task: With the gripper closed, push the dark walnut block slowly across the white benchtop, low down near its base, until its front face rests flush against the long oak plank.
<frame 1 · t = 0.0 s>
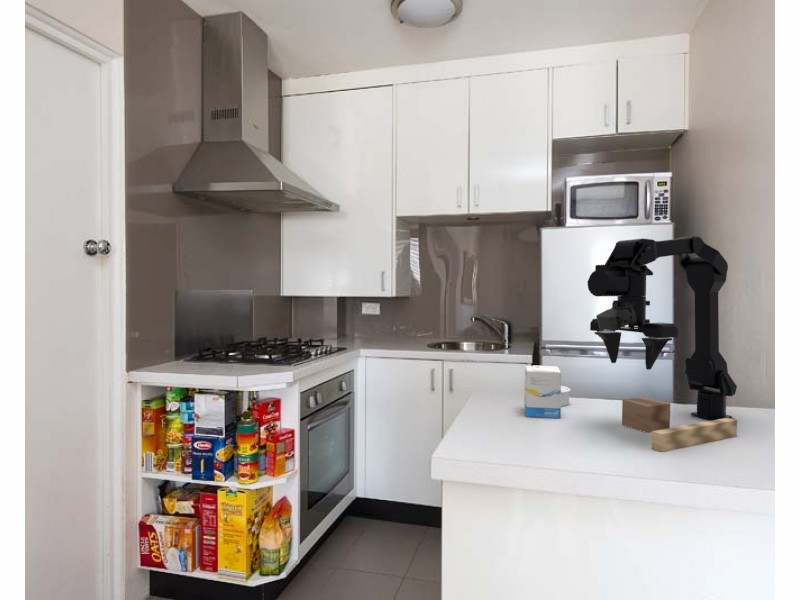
hand: (630, 366, 108), 15 cm above the countertop, fingers open, 9 cm apart
walnut block: (645, 427, 112), on the countertop
oak plank: (695, 442, 101), on the countertop
ink box: (541, 414, 123), on the countertop
ramekin: (553, 404, 134), on the countertop
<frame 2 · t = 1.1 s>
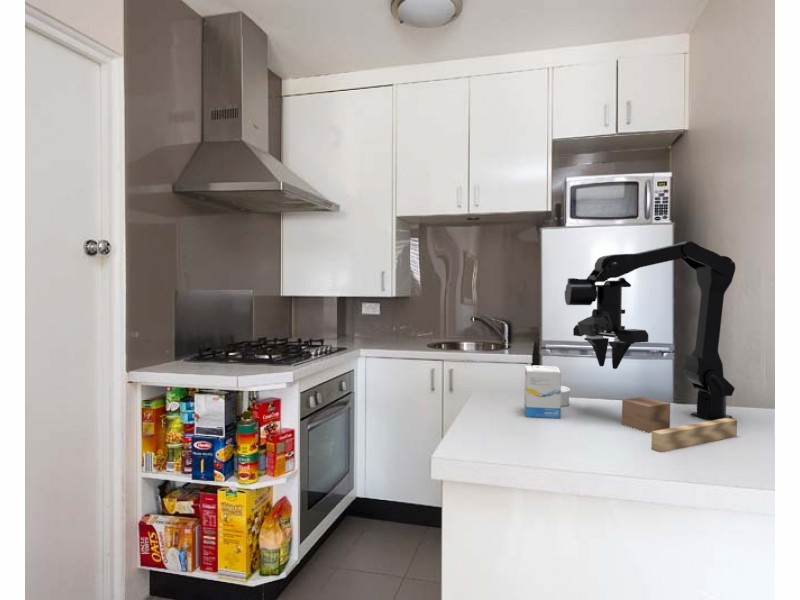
hand: (608, 367, 121), 12 cm above the countertop, fingers open, 4 cm apart
nothing on the countertop moved.
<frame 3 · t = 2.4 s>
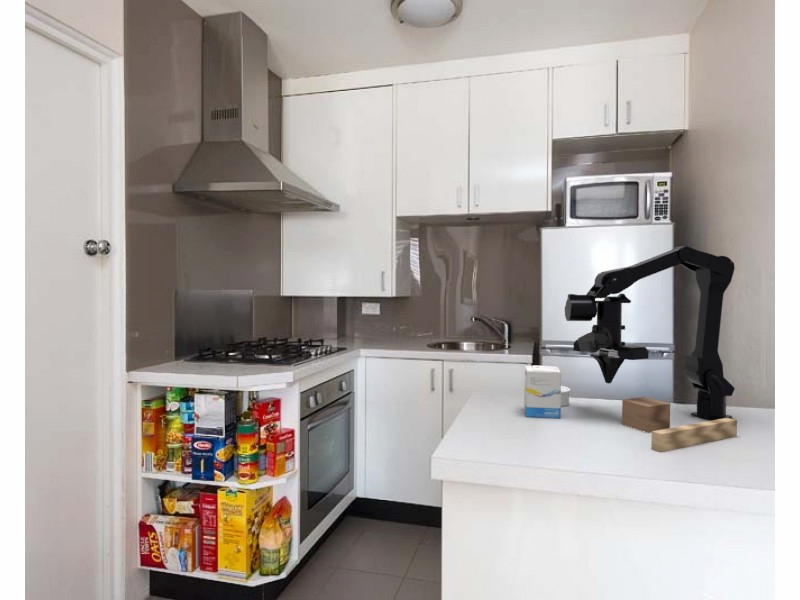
hand: (608, 383, 121), 8 cm above the countertop, fingers closed
nothing on the countertop moved.
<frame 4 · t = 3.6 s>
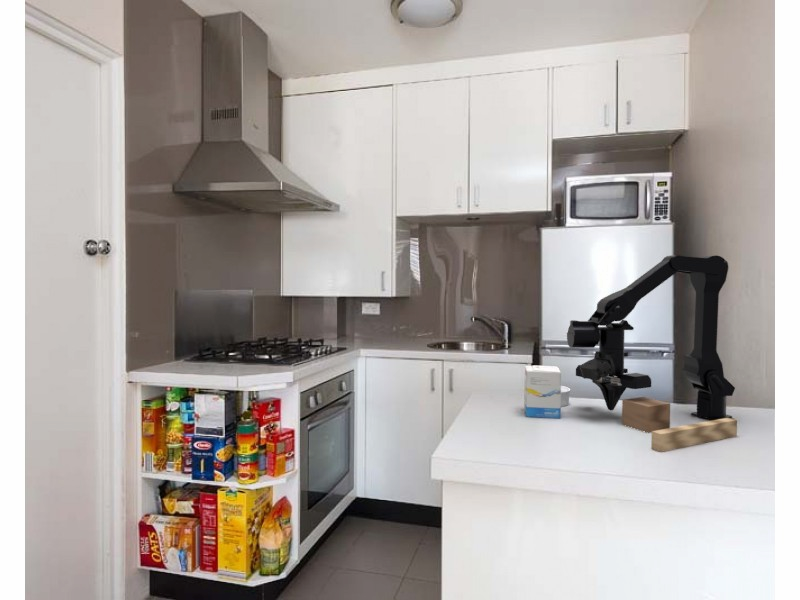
hand: (610, 409, 121), 1 cm above the countertop, fingers closed
nothing on the countertop moved.
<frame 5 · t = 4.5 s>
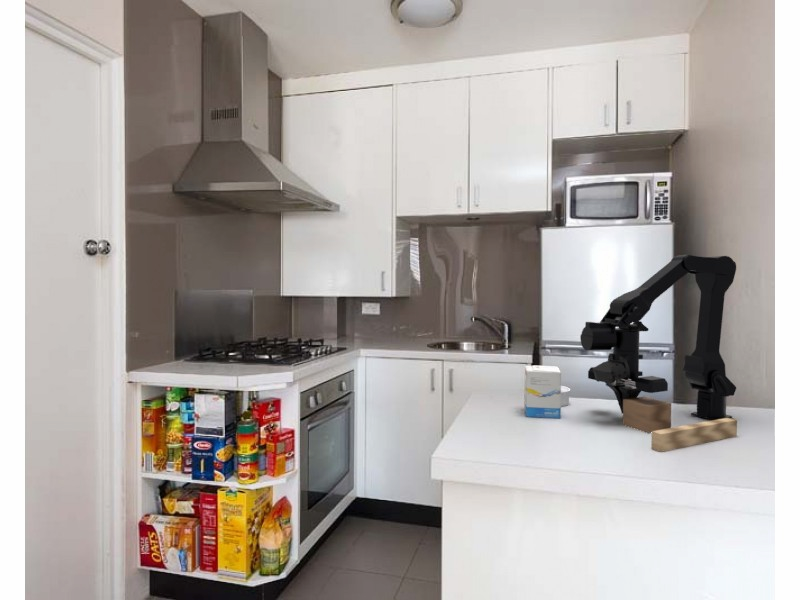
hand: (624, 414, 117), 1 cm above the countertop, fingers closed
walnut block: (646, 427, 111), on the countertop, touching gripper
everything else where it was.
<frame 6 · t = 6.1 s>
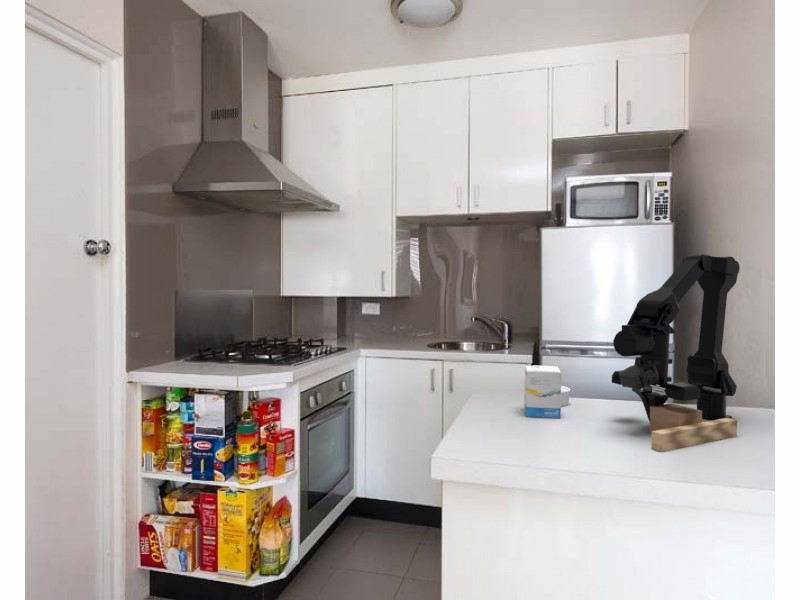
hand: (651, 421, 110), 2 cm above the countertop, fingers closed
walnut block: (675, 436, 105), on the countertop, touching gripper, oak plank
everything else where it was.
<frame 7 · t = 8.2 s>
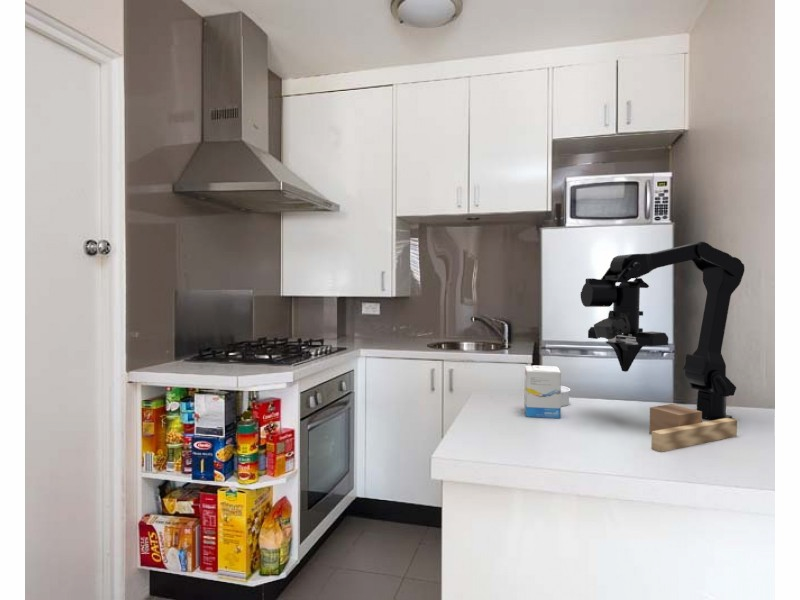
hand: (624, 371, 117), 12 cm above the countertop, fingers closed
walnut block: (675, 436, 105), on the countertop
everything else where it was.
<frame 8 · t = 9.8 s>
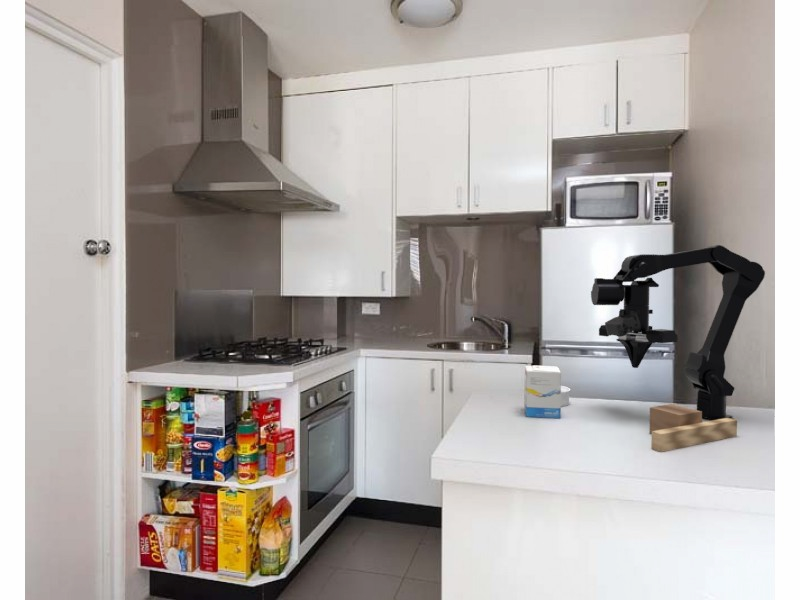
hand: (635, 367, 121), 12 cm above the countertop, fingers closed
nothing on the countertop moved.
at the end: walnut block inside the target area on the countertop beside the oak plank (1.0 cm from its centre), on the countertop; walnut block tilted 0° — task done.
